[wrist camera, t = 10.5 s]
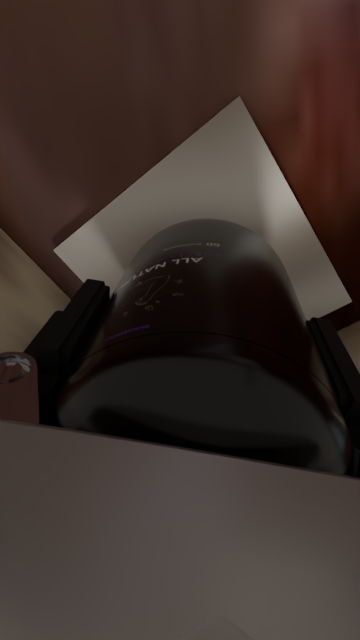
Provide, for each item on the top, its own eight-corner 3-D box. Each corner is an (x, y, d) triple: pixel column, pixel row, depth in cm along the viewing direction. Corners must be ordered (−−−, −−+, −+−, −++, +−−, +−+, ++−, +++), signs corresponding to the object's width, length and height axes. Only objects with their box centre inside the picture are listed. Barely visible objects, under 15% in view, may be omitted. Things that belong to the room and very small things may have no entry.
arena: (484, 293, 15) (617, 383, 10) (171, 430, 22) (159, 525, 17) (306, -239, 8) (443, -752, 3) (-71, 198, 15) (-212, 242, 10)
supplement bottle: (169, 178, 12) (-60, 525, 2) (322, 266, 13) (656, 755, 3) (102, 318, 16) (-105, 705, 5) (229, 378, 17) (250, 784, 7)
